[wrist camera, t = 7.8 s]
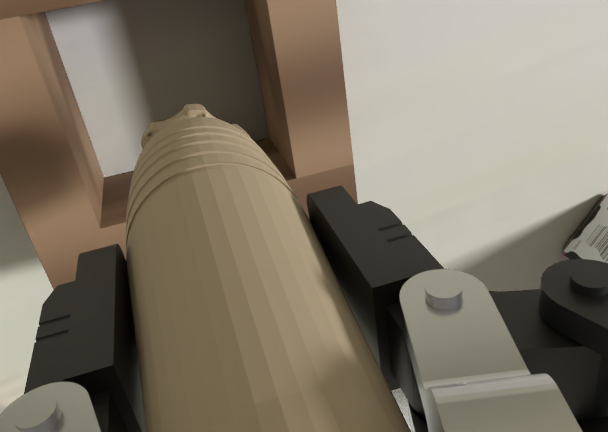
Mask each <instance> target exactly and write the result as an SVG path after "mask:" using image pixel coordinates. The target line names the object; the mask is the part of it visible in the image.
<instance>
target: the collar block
mask: <svg viewBox="0 0 608 432" xmlns="http://www.w3.org/2000/svg"><path fill="white" fill-rule="evenodd" d="M97 1H102V0H0V174H1V176H2V178H3V180H4V183H5V185H6V187H7V189H8V191H9V194H10V196H11V198H12V200H13V202H14V204H15V207H16V209H17V211H18V213H19V215H20V217H21V220H22V222H23V224H24V226H25V228H26V230H27V233H28V235H29V237H30V239H31V241H32V244H33V246H34V248H35V250H36V252H37V254H38V257H39V259H40V261H41V263H42V265H43V267H44V270H45V272H46V274H47V276H48V278H49V281H50V283H51V285H52V287H53V289H55V288H56V287H57V285H61V284H65V283H68V282H72V281H75V278H76V271H77V263H78V256H79V254H80V253H84V252H87V251H91V250H95V249H99V248H103V247H106V246H110V245H114V244H119V246H120V247H121V249H122V251H123V254H124V256H125V259H126V212H127V205H128V198H129V192H130V185H131V180H132V176H133V172H134V171H131V172H127V173H123V174H118V175H114V176H110V177H106V178H104V177H103V174H102V171H101V169H100V166H99V163H98V160H97V157H96V155H95V152H94V149H93V146H92V143H91V141H90V138H89V135H88V132H87V129H86V127H85V124H84V121H83V118H82V116H81V113H80V110H79V107H78V104H77V102H76V99H75V96H74V93H73V90H72V88H71V85H70V82H69V79H68V76H67V74H66V71H65V68H64V65H63V63H62V60H61V57H60V54H59V51H58V49H57V46H56V43H55V40H54V37H53V35H52V32H51V29H50V26H49V23H48V21H47V18H46V15H45V12H44V11H49V10H55V9H60V8H65V7H71V6H76V5H81V4H87V3H92V2H97ZM244 1H245V7H246V12H247V17H248V23H249V28H250V33H251V39H252V44H253V50H254V55H255V60H256V66H257V71H258V77H259V82H260V87H261V93H262V98H263V104H264V109H265V114H266V120H267V125H268V131H269V136H270V138H268V139H263V140H259V141H255V143H256V144H257V145H258V146H259V147H260V148H261V149H262V150H263V151H264V153H265V154H266V155H267V156H268V157H269V159H270V160H271V161H272V162H273V164H274V165H275V166H276V167H277V169H278V170H279V171H280V173H281V174H282V176H283V177H284V179H285V180H286V182H287V183H288V185H289V187H290V188H291V189H292V191H293V193H294V194H295V196H296V197H297V199H298V201H299V202H300V204H301V205H302V207H303V208H304V210H305V212H306V214H307V216H308V218H309V214H308V208H307V194H309V193H313V192H317V191H321V190H324V189H328V188H332V187H336V186H340V185H341V186H343V187H344V189H345V190H346V191H347V192H348V193H349V195H350V196H351V197H352V198H353V200H354V201H355V202H356V203H357V205H358V202H357V192H356V183H355V174H354V165H353V155H352V146H351V137H350V128H349V118H348V109H347V100H346V90H345V81H344V72H343V63H342V53H341V44H340V35H339V26H338V16H337V7H336V0H244Z"/></svg>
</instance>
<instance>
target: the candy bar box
mask: <svg viewBox="0 0 608 432" xmlns="http://www.w3.org/2000/svg"><path fill="white" fill-rule="evenodd" d="M562 253H563V254H564V255H565V256H566V257H568V258H569V259H570V260H572V259H589V260H597V261H602V262H606V263H608V194H606V195H605V196H604V197H603V198H602V199H601V200H600V202H599V203H598V204H597V206H596V207H595V208H594V209H593V211H592V212H591V214H590V215H589V216H588V217H587V219H586V220H585V221H584V223H583V224H582V225H581V226H580V227H579V229H578V230H577V231H576V233H575V234H574V235H573V236H572V237H571V239H570V240H569V242H568V243H567V245H566V246H565V248H564V249H563V251H562Z"/></svg>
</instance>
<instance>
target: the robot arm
mask: <svg viewBox="0 0 608 432" xmlns="http://www.w3.org/2000/svg"><path fill="white" fill-rule="evenodd" d="M307 208H308V214H309V220H310V222H311V224H312V226H313V229H314V231H315V233H316V235H317V237H318V239H319V241H320V244H321V246H322V248H323V250H324V252H325V254H326V256H327V258H328V261H329V263H330V265H331V267H332V269H333V271H334V273H335V275H336V278H337V280H338V282H339V284H340V286H341V288H342V290H343V293H344V295H345V297H346V299H347V301H348V303H349V305H350V307H351V309H352V311H353V314H354V316H355V318H356V320H357V322H358V324H359V326H360V328H361V330H362V332H363V334H364V336H365V338H366V340H367V342H368V344H369V346H370V349H371V351H372V353H373V355H374V357H375V359H376V361H377V363H378V365H379V367H380V369H381V371H382V373H383V375H384V377H385V379H386V381H387V383H388V386H389V388H390V390H391V391H392V390H395V389H398V388H401V389H402V391H403V393H404V395H405V396H406V398H407V404H408V416H409V422H410V426H411V430H412V432H608V263H606V262H602V261H597V260H589V259H572V260H566V261H561V262H558V263H556V264H554V265H552V266H550V267H549V268H548V269H546V270H545V272H544V273H543V275H542V278H541V287H540V289H537V290H522V291H507V292H494V291H488V289H487V288H486V286H485V285H484V284H483V283H482V282H481V281H480V280H479V279H477V278H476V277H474V276H472V275H470V274H468V273H465V272H462V271H457V270H450V269H444V268H443V267H442V266H441V265H440V264H439V262H438V261H437V260H436V259H435V258H434V257H433V256H432V255H431V254H430V253H429V251H428V250H427V249H426V248H425V247H424V246H423V245H422V244H421V243H420V242H419V240H418V239H417V238H416V237H415V236H414V235H413V236H412V234H411V232H410V231H409V229H408V228H407V227H406V226H405V225H402V222H401V221H400V220H399V218H398V217H397V216H396V215H395V214H394V213H393V212H392V211H391V210H390V209H388V208H386V207H384V206H381V205H379V204H377V203H374V202H372V201H369V202H365V203H362V204H358V205H357V203H356V202H355V201H354V200H353V198H352V197H351V196H350V195H349V193H348V192H347V191H346V190H345V189H344V187H343V186H341V185H340V186H336V187H332V188H328V189H324V190H321V191H317V192H313V193H309V194H307ZM39 325H40V327H38V330H37V335H36V343H35V344H34V349H33V354H32V358H31V363H30V368H29V373H28V377H27V382H26V387H25V392H24V395H22V396H21V397H19V398H18V399H16V400H15V401H14V402H12V403H11V404H10V405H9V406H8V407H7V408H6V409H5V410H3V412H2V413H1V414H0V432H146V426H145V417H144V407H143V398H142V389H141V380H140V371H139V363H138V355H137V347H136V339H135V331H134V323H133V315H132V307H131V299H130V291H129V283H128V273H127V263H126V259H125V256H124V254H123V251H122V249H121V247H120V246H119V244H114V245H110V246H106V247H103V248H99V249H95V250H91V251H87V252H84V253H80V254H79V256H78V263H77V271H76V278H75V281H72V282H68V283H65V284H61V285H57V287H56V288H55V289H54V291H53V292H52V293H51V295H50V296H49V297H48V298H47V300H46V301H45V302H44V304H43V306H42V311H41V316H40V320H39Z"/></svg>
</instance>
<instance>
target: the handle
mask: <svg viewBox="0 0 608 432" xmlns="http://www.w3.org/2000/svg"><path fill="white" fill-rule="evenodd" d="M141 146H142V147H143V151H142V153H141V155H140V157H139V159H138V161H137V164H136V166H135V169H134V172H133V176H132V180H131V185H130V192H129V198H128V205H127V212H126V263H127V273H128V283H129V291H130V299H131V307H132V315H133V323H134V331H135V339H136V347H137V355H138V363H139V371H140V380H141V389H142V398H143V407H144V417H145V426H146V432H411V431H410V429H409V427H408V425H407V423H406V421H405V418H404V416H403V414H402V412H401V410H400V408H399V406H398V404H397V402H396V400H395V398H394V396H393V394H392V392H391V390H390V388H389V386H388V383H387V381H386V379H385V377H384V375H383V373H382V371H381V369H380V367H379V365H378V363H377V361H376V359H375V357H374V355H373V353H372V351H371V349H370V346H369V344H368V342H367V340H366V338H365V336H364V334H363V332H362V330H361V328H360V326H359V324H358V322H357V320H356V318H355V316H354V314H353V311H352V309H351V307H350V305H349V303H348V301H347V299H346V297H345V295H344V293H343V290H342V288H341V286H340V284H339V282H338V280H337V278H336V275H335V273H334V271H333V269H332V267H331V265H330V263H329V261H328V258H327V256H326V254H325V252H324V250H323V248H322V246H321V244H320V241H319V239H318V237H317V235H316V233H315V231H314V229H313V226H312V224H311V222H310V220H309V218H308V216H307V214H306V212H305V210H304V208H303V207H302V205H301V204H300V202H299V201H298V199H297V197H296V196H295V194H294V193H293V191H292V189H291V188H290V187H289V185H288V183H287V182H286V180H285V179H284V177H283V176H282V174H281V173H280V171H279V170H278V169H277V167H276V166H275V165H274V164H273V162H272V161H271V160H270V159H269V157H268V156H267V155H266V154H265V153H264V151H263V150H262V149H261V148H260V147H259V146H258V145H257V144H256V143H255V142H254V141H253V140H252V139H251V137H250V136H249V135H248V134H247V133H246V132H245V130H243V129H242V128H241V127H240V126H238V125H237V124H229V123H227V122H225V121H222V120H220V119H217V118H215V117H214V116H212V115H211V114H210V113H209V112H208V111H207V110H206V109H205V107H204V106H203V105H201V104H186V105H185V106H184V107H183V109H182V110H181V111H180V112H179V113H178V114H176V115H175V116H173V117H172V118H169V119H167V120H164V121H159V122H157V121H153V122H152V123H151V124H150V125H149V126H148V128H147V129H146V131H145V133H144V134H143V136H142V140H141Z"/></svg>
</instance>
